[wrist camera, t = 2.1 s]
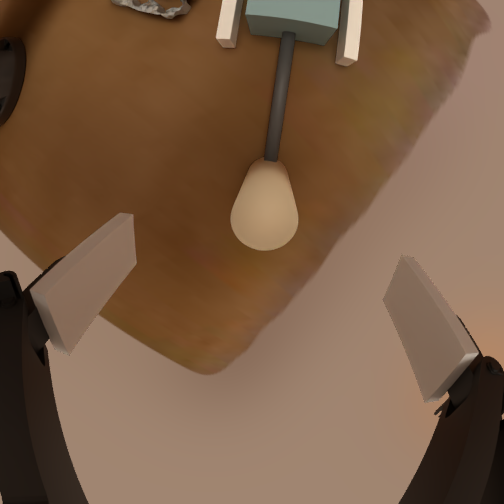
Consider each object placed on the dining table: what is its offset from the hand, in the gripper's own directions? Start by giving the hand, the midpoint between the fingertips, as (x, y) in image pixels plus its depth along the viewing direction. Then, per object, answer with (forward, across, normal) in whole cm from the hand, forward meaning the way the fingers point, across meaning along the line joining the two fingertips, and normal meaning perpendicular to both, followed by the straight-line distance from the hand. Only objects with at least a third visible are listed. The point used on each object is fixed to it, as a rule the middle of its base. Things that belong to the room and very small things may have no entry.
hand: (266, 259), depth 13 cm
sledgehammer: (+16, 0, +10) cm, 19 cm away
